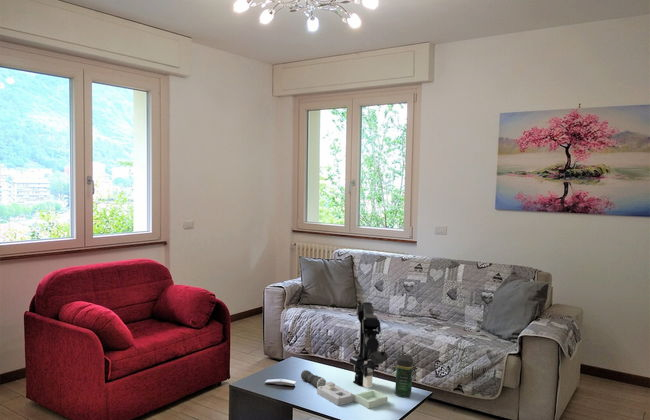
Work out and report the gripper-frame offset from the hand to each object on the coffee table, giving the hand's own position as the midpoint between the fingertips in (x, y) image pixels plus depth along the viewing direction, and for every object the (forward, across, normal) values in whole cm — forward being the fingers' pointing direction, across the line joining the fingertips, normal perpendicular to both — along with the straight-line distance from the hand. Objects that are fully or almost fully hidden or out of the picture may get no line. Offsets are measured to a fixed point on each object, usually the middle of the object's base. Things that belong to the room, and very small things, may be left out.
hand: (367, 376), depth 237 cm
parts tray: (+12, +2, -1) cm, 12 cm away
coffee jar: (+12, +22, -2) cm, 26 cm away
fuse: (+12, -10, +16) cm, 22 cm away
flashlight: (+13, -10, +30) cm, 34 cm away
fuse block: (+12, -10, +12) cm, 19 cm away
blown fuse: (+4, 0, 0) cm, 4 cm away
